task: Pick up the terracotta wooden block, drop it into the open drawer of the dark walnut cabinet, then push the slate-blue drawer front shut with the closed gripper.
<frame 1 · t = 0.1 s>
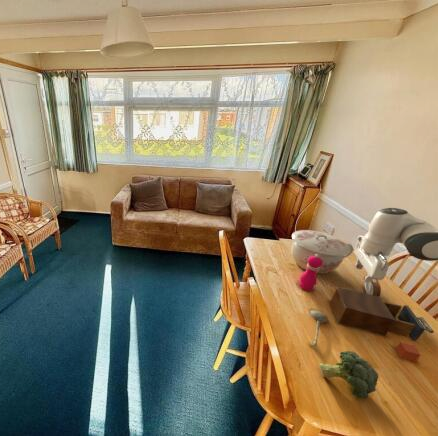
hand: (362, 274, 96), 20 cm above the table, tool pointing down, fingers open, 8 cm apart
soupspoon: (316, 329, 96), on the table
drawer: (395, 319, 94), point 5 cm above the table, slide at 8.0 cm
chamber pot: (311, 265, 135), on the table
pepper mill: (305, 286, 119), on the table
tin: (368, 293, 114), on the table
cabinet: (355, 317, 101), on the table
block: (405, 355, 85), on the table
vegetable: (342, 382, 77), on the table
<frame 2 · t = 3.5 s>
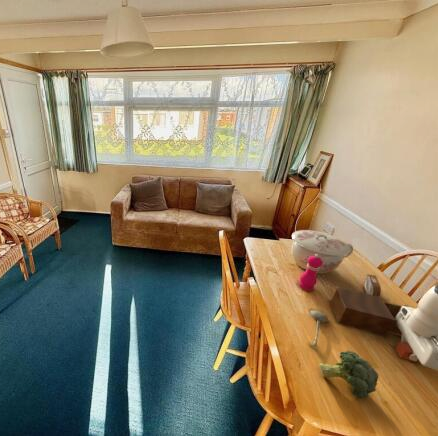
hand: (407, 352, 85), 2 cm above the table, tool pointing down, fingers closed on block, 4 cm apart
block: (405, 355, 85), on the table, touching gripper
everything else where it was.
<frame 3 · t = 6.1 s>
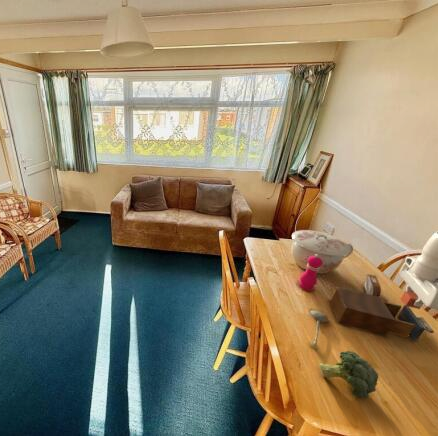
hand: (411, 300, 87), 17 cm above the table, tool pointing down, fingers closed on block, 4 cm apart
block: (409, 303, 88), point 15 cm above the table, touching gripper
everything else where it was.
when the fingers open (8 cm above the table, at t = 8.8 s): block drops 4 cm, resting on drawer.
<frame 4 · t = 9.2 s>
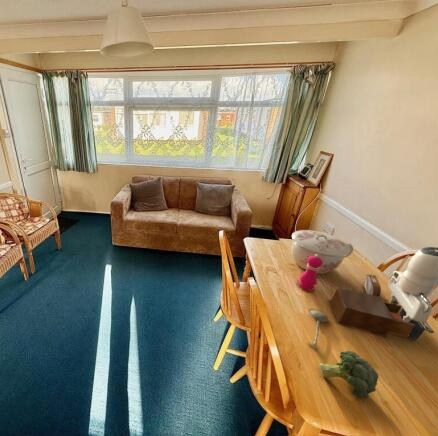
hand: (398, 311, 93), 8 cm above the table, tool pointing down, fingers open, 8 cm apart
drawer: (395, 319, 94), point 5 cm above the table, slide at 8.0 cm, touching block
block: (391, 322, 96), point 2 cm above the table, touching drawer
everything else where it was.
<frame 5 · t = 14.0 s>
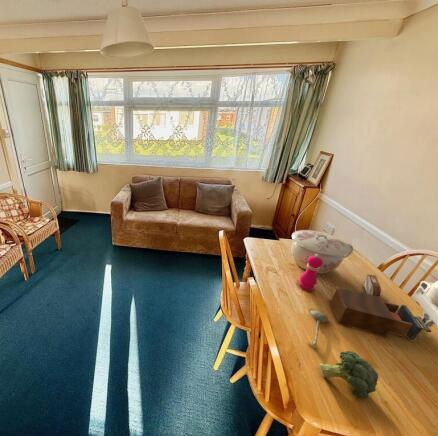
hand: (425, 323, 91), 6 cm above the table, tool pointing down, fingers closed, pressing on drawer
drawer: (393, 318, 95), point 5 cm above the table, slide at 7.2 cm, touching block, gripper
everything else where it was.
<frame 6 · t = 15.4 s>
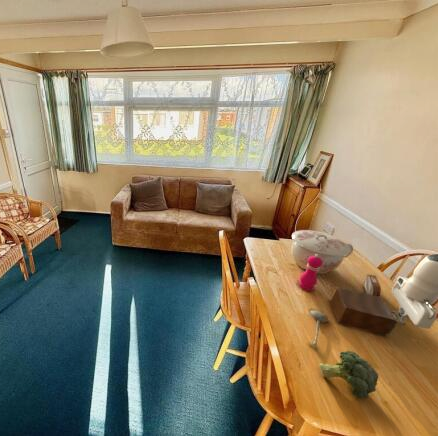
hand: (401, 317, 93), 6 cm above the table, tool pointing down, fingers closed, pressing on drawer
drawer: (371, 312, 97), point 5 cm above the table, slide at 0.0 cm, touching block, cabinet, gripper
block: (367, 316, 99), point 2 cm above the table, touching drawer
everything else where it was.
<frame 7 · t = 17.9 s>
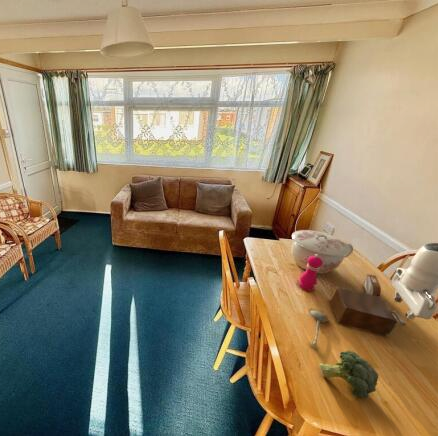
hand: (402, 309, 92), 10 cm above the table, tool pointing down, fingers open, 8 cm apart
drawer: (371, 312, 97), point 5 cm above the table, slide at 0.0 cm, touching block, cabinet
everything else where it was.
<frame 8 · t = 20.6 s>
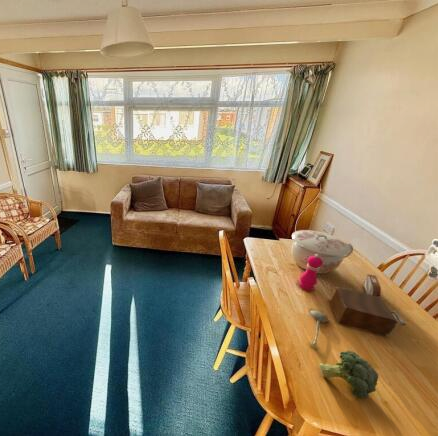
nothing on the table moved.
at the end: block inside the target area in the cabinet (3.4 cm from its centre), point 2.0 cm above the cabinet's base; drawer slide at 0.0 cm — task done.
